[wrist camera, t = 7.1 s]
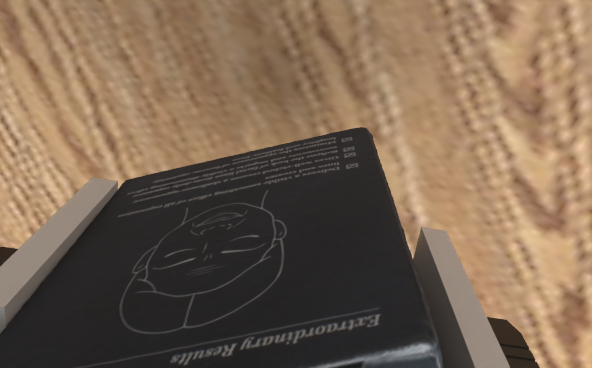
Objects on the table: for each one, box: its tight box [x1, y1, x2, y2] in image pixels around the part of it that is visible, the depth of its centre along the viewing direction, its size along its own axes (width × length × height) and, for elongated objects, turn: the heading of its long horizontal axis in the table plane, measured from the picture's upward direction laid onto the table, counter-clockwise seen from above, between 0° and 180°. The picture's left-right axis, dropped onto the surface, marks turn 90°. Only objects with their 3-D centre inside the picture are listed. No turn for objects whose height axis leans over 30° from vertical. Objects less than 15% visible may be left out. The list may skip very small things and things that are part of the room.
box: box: [0, 127, 444, 368], centre depth 13 cm, size 8×6×11 cm
